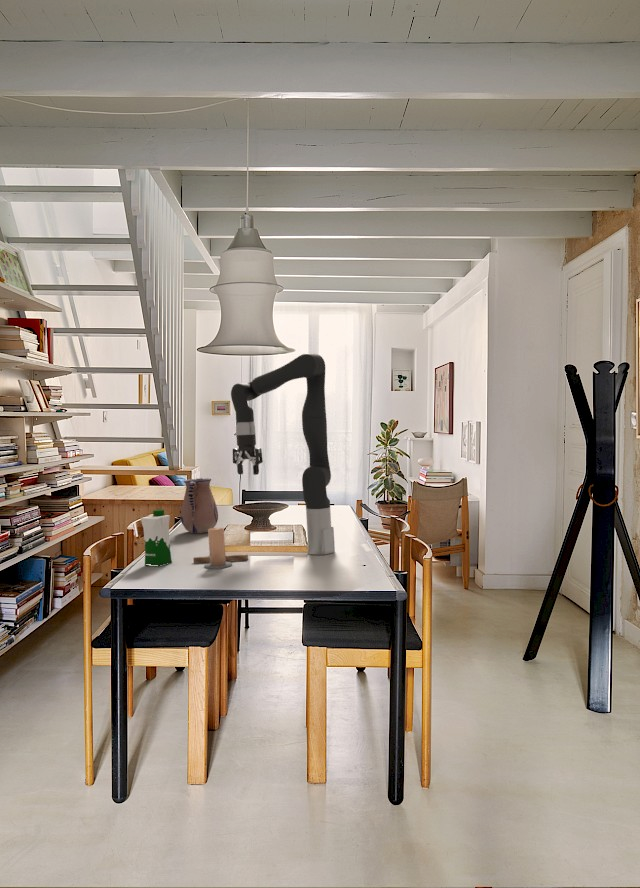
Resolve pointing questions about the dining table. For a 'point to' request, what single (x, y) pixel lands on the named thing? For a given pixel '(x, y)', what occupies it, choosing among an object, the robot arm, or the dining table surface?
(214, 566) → the coaster
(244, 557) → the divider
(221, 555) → the peach cylinder
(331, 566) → the dining table surface
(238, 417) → the robot arm
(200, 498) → the ceramic pitcher
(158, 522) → the milk carton
